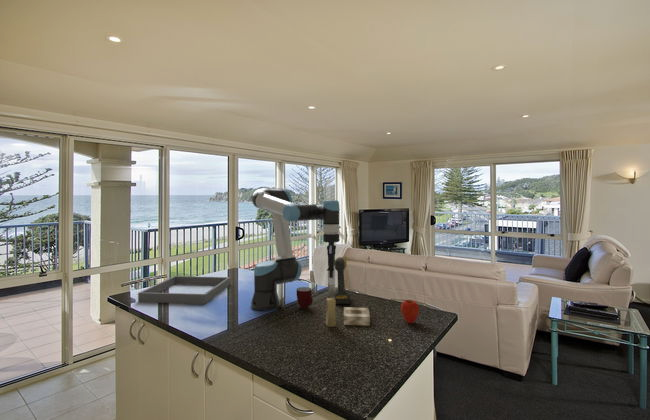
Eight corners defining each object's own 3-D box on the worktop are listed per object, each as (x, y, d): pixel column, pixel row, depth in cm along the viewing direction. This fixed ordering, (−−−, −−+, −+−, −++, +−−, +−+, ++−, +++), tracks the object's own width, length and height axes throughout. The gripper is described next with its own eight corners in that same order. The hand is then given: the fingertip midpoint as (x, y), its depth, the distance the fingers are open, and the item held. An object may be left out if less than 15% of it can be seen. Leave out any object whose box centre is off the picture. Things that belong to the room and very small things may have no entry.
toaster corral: (138, 301, 177) (138, 293, 177) (174, 283, 215) (174, 275, 215) (205, 303, 175) (205, 294, 174) (230, 284, 212) (230, 277, 212)
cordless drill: (350, 295, 192) (350, 253, 191) (349, 306, 173) (350, 260, 171) (335, 294, 193) (335, 253, 192) (332, 305, 173) (333, 259, 172)
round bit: (327, 292, 149) (327, 266, 149) (328, 290, 152) (328, 265, 152) (334, 292, 149) (334, 266, 148) (335, 290, 152) (335, 265, 152)
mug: (318, 308, 169) (318, 289, 168) (307, 312, 163) (307, 293, 162) (303, 304, 176) (304, 286, 175) (293, 307, 170) (293, 289, 169)
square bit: (327, 327, 145) (327, 300, 145) (325, 323, 149) (326, 298, 148) (335, 326, 146) (335, 300, 145) (333, 323, 149) (333, 297, 149)
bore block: (343, 324, 148) (343, 316, 148) (343, 315, 160) (343, 307, 160) (369, 325, 147) (369, 316, 147) (367, 315, 159) (368, 307, 159)
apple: (396, 320, 153) (396, 298, 153) (411, 318, 156) (411, 296, 156) (407, 327, 145) (408, 304, 145) (422, 324, 149) (423, 301, 148)
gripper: (338, 235, 141) (338, 288, 142) (340, 231, 158) (340, 279, 158) (321, 235, 142) (321, 287, 143) (325, 231, 158) (325, 279, 159)
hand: (331, 283), depth 150 cm, fingers closed on round bit, 3 cm apart
